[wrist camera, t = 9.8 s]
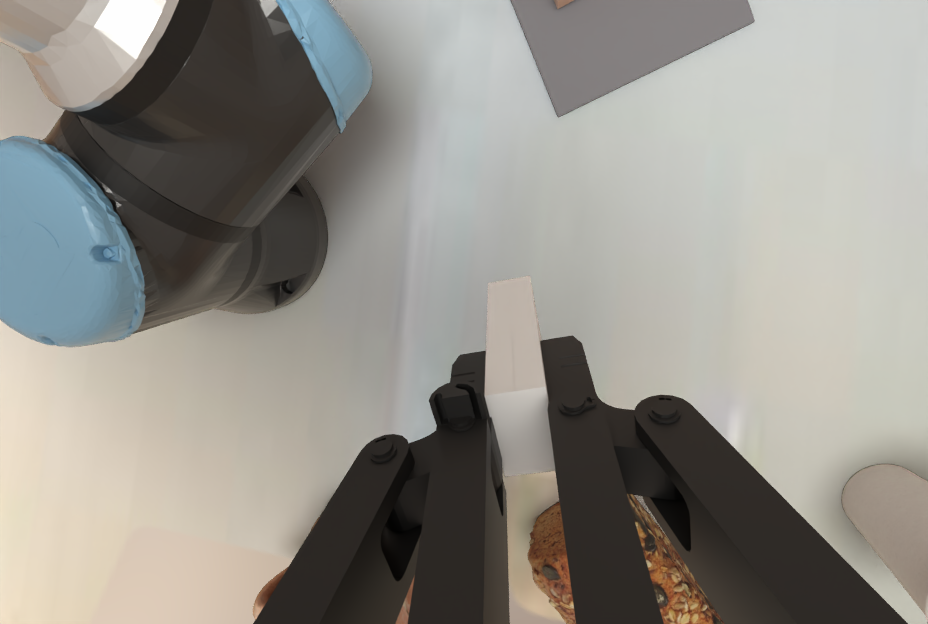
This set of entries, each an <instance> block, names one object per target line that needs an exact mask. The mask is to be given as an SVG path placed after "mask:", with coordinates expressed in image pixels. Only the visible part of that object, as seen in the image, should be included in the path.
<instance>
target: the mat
mask: <svg viewBox="0 0 928 624" xmlns="http://www.w3.org/2000/svg"><path fill="white" fill-rule="evenodd" d="M511 2H512V4H513V7H514V9H515V12H516V14H517V17H518V19H519V22H520V24H521V27H522V29H523V32H524V34H525V36H526V39H527V41H528V44H529V46H530V49H531V51H532V54H533V56H534V59H535V61H536V64H537V66H538V69H539V71H540V74H541V76H542V78H543V81H544V83H545V86H546V88H547V91H548V93H549V96H550V98H551V101H552V103H553V106H554V108H555V111H556V113H557V116H558V117H560V116H562V115H564V114H566V113H568V112H570V111H572V110H574V109H576V108H579V107H581V106H583V105H585V104H587V103H589V102H591V101H593V100H595V99H597V98H599V97H601V96H603V95H605V94H607V93H609V92H611V91H614V90H616V89H618V88H620V87H622V86H624V85H626V84H628V83H630V82H632V81H634V80H636V79H638V78H640V77H642V76H644V75H646V74H648V73H651V72H653V71H655V70H657V69H659V68H661V67H663V66H665V65H667V64H669V63H671V62H673V61H675V60H677V59H679V58H681V57H683V56H685V55H688V54H690V53H692V52H694V51H696V50H698V49H700V48H702V47H704V46H706V45H708V44H710V43H712V42H714V41H716V40H718V39H720V38H722V37H725V36H727V35H729V34H731V33H733V32H735V31H737V30H739V29H741V28H743V27H745V26H747V25H749V24H751V23H753V22H754V21H755V20H754V17H753V15H752V12H751V9H750V6H749V3H748V0H574V1H572V2H570V3H568V4H566V5H565V6H563V7H561V8H559V9H557V7H556V4H555V2H554V0H511Z"/></svg>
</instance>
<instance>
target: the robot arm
mask: <svg viewBox="0 0 928 624" xmlns="http://www.w3.org/2000/svg"><path fill="white" fill-rule="evenodd" d="M0 42H2V43H4V44H6V45H8V46H10V47H12V48H14V49H17V50H18V51H19V52H20V53H21V54H22V55H23V56H24V58H25V60H26V62H27V64H28V65H29V67H30V69H31V71H32V73H33V75H34V76H35V78H36V80H37V82H38V84H39V86H40V88H41V89H42V91H43V93H44V95H45V96H46V97H47V98H48V99H49V100H50V101H51V102H53V103H54V104H55V105H57V106H59V107H61V108H63V109H65V111H64V113H63V114H62V116H61V117H60V118H59V120H58V121H57V123H56V124H55V126H54V127H53V129H52V130H51V132H50V133H49V135H48V136H47V137H46V138H45V139H43V140H39V139H35V138H29V137H25V136H12V137H10V138H7V139H5V140H2V141H0V320H1V321H2V322H4V323H5V324H6V325H8V326H9V327H10V328H12V329H14V330H15V331H17V332H18V333H20V334H22V335H24V336H26V337H28V338H30V339H32V340H35V341H37V342H40V343H43V344H47V345H57V346H65V347H81V346H86V345H92V344H98V343H103V342H115V341H118V340H122V339H125V338H126V337H130V336H131V334H134V333H137V332H140V331H144V330H147V329H150V328H153V327H156V326H160V325H163V324H166V323H169V322H172V321H176V320H179V319H182V318H185V317H188V316H191V315H195V314H198V313H201V312H204V311H207V310H210V309H219V310H224V311H229V312H234V313H241V314H256V313H264V312H268V311H271V310H274V309H277V308H280V307H283V306H285V305H287V304H290V303H291V302H293V301H295V300H296V299H298V298H299V297H301V296H302V295H303V294H304V293H305V292H306V291H307V290H308V289H309V288H310V287H311V286H312V284H313V283H314V282H315V280H316V279H317V277H318V275H319V273H320V271H321V269H322V266H323V263H324V260H325V256H326V251H327V241H328V238H327V225H326V219H325V215H324V211H323V208H322V206H321V203H320V201H319V199H318V197H317V195H316V193H315V191H314V190H313V188H312V187H311V185H310V184H309V182H308V181H307V180H306V179H305V178H304V177H303V176H302V175H303V174H304V172H305V171H306V170H307V169H308V168H309V167H310V166H311V164H312V163H313V162H314V161H315V160H316V159H317V157H318V156H319V155H320V154H321V153H322V152H323V151H324V149H325V148H326V147H327V146H328V145H329V144H330V142H331V141H332V140H333V139H334V138H335V137H336V136H337V134H338V133H340V134H341V133H342V132H343V131H344V128H346V121H347V120H348V119H349V117H350V116H351V115H352V113H353V112H354V111H355V110H356V108H357V107H358V106H359V104H360V103H361V102H362V100H363V99H364V98H365V97H366V95H367V94H368V92H369V89H370V87H371V84H372V65H371V62H370V59H369V57H368V55H367V53H366V52H365V50H364V48H363V47H362V46H361V44H360V43H359V41H358V40H357V38H356V37H355V36H354V34H353V33H352V31H351V30H350V29H349V27H348V26H347V25H346V23H345V22H344V21H343V19H342V18H341V17H340V15H339V14H338V13H337V12H336V10H335V9H334V8H333V6H332V5H331V4H330V3H329V1H328V0H0ZM429 402H430V406H431V409H432V412H433V415H434V418H435V421H436V425H437V428H436V431H435V432H433V433H432V434H431V435H429V436H427V437H425V438H423V439H420V440H417V441H415V442H412V443H409V444H408V441H407V439H405V438H404V437H403V436H400V435H395V434H391V435H384V436H381V437H378V438H376V439H374V440H373V441H371V442H370V443H368V444H367V445H366V446H365V447H364V448H363V449H362V450H361V452H360V453H359V455H358V456H357V458H356V460H355V461H354V463H353V464H352V466H351V468H350V469H349V471H348V472H347V474H346V476H345V477H344V479H343V480H342V482H341V484H340V485H339V487H338V489H337V490H336V492H335V493H334V495H333V497H332V498H331V500H330V501H329V503H328V505H327V506H326V508H325V509H324V511H323V513H322V514H321V516H320V517H319V519H318V521H317V522H316V524H315V525H314V527H313V529H312V530H311V532H310V533H309V535H308V537H307V538H306V540H305V541H304V543H303V545H302V546H301V548H300V549H299V551H298V553H297V554H296V556H295V558H294V559H293V561H292V562H291V564H290V566H289V567H288V569H287V570H286V572H285V574H284V575H283V577H282V578H281V580H280V582H279V583H278V585H277V586H276V588H275V590H274V591H273V593H272V594H271V596H270V598H269V599H268V601H267V602H266V604H265V606H264V607H263V609H262V610H261V612H260V614H259V615H258V617H257V619H256V620H255V622H254V623H253V624H396V621H397V619H398V616H399V613H400V611H401V608H402V606H403V603H404V601H405V598H406V596H407V593H408V591H409V588H410V586H411V583H412V581H413V578H414V583H413V590H412V597H411V604H410V610H409V617H408V624H510V623H509V583H508V545H507V507H506V490H505V486H504V482H503V476H502V467H503V471H504V475H505V477H508V476H516V475H524V474H532V473H540V472H548V471H556V478H557V485H558V493H559V500H560V508H561V515H562V523H563V530H564V538H565V545H566V553H567V560H568V567H569V575H570V582H571V590H572V597H573V605H574V612H575V620H576V624H664V622H663V619H662V615H661V612H660V608H659V605H658V601H657V598H656V594H655V591H654V587H653V583H652V580H651V576H650V573H649V569H648V566H647V562H646V559H645V555H644V552H643V548H642V545H641V541H640V538H639V534H638V531H637V527H636V524H635V520H634V517H633V513H632V510H631V506H630V503H629V499H628V495H627V494H633V495H639V496H643V499H644V502H645V503H646V505H647V507H648V508H649V510H650V511H651V513H652V514H653V516H654V517H655V519H656V520H657V522H658V523H659V525H660V526H661V528H662V529H663V531H664V532H665V534H666V535H667V537H668V539H669V540H670V542H671V543H672V545H673V546H674V548H675V549H676V551H677V552H678V554H679V555H680V557H681V558H682V560H683V561H684V563H685V564H686V566H687V567H688V569H689V571H690V572H691V574H692V575H693V577H694V578H695V580H696V581H697V583H698V584H699V586H700V587H701V589H702V590H703V592H704V593H705V595H706V596H707V598H708V599H709V601H710V603H711V604H712V606H713V607H714V609H715V610H716V612H717V613H718V615H719V616H720V618H721V619H722V621H723V622H724V624H908V623H907V622H906V621H905V620H904V619H903V618H902V617H901V616H900V615H899V614H898V613H897V612H896V611H895V610H894V609H893V608H892V607H891V606H890V605H889V604H888V603H887V602H886V601H885V600H884V599H883V598H882V597H881V596H880V595H879V594H878V593H877V592H876V591H875V590H874V589H873V588H872V587H871V586H870V585H869V584H868V583H867V582H866V581H865V580H864V579H863V578H862V577H861V576H860V575H859V574H858V573H857V572H856V571H855V570H854V569H853V568H852V567H851V566H850V565H849V564H848V563H847V562H846V561H845V560H844V559H843V558H842V557H841V556H840V555H839V554H838V553H837V552H836V551H835V550H834V549H833V548H832V547H831V546H830V544H829V543H828V542H827V541H826V540H825V539H824V538H823V537H822V536H821V535H820V534H819V533H818V532H817V531H816V530H815V529H814V528H813V527H812V526H811V525H810V524H809V523H808V522H807V521H806V520H805V519H804V518H803V517H802V516H801V515H800V514H799V513H798V512H797V511H796V510H795V509H794V508H793V507H792V506H791V505H790V504H789V503H788V502H787V501H786V500H785V499H784V498H783V497H782V496H781V495H780V494H779V493H778V492H777V491H776V490H775V489H774V488H773V487H772V486H771V485H770V484H769V483H768V482H767V481H766V480H765V479H764V478H763V477H762V476H761V475H760V474H759V473H758V472H757V471H756V470H755V469H754V468H753V467H752V466H751V465H750V464H749V463H748V462H747V461H746V460H745V459H744V458H743V457H742V456H741V454H740V453H739V452H738V451H737V450H736V449H735V448H734V447H733V446H732V445H731V444H730V443H729V442H728V441H727V440H726V439H725V438H724V437H723V436H722V435H721V434H720V433H719V432H718V431H717V430H716V429H715V428H714V427H713V426H712V425H711V424H710V423H709V422H708V421H707V420H706V419H705V418H704V417H703V416H702V415H701V414H700V413H699V412H698V411H697V410H696V409H695V408H694V407H693V406H692V405H691V404H690V403H688V402H687V401H685V400H684V399H681V398H678V397H675V396H670V395H657V396H651V397H648V398H646V399H644V400H642V401H641V402H640V403H639V404H638V405H637V406H636V408H635V410H626V409H619V408H615V407H612V406H609V405H607V404H605V403H604V402H602V401H601V400H600V399H599V398H598V396H597V394H596V392H595V388H594V385H593V381H592V378H591V374H590V371H589V367H588V364H587V360H586V356H585V353H584V349H583V346H582V343H581V342H580V341H578V340H577V339H576V338H575V337H574V336H567V337H561V338H554V339H548V340H541V334H540V329H539V323H538V318H537V312H536V307H535V301H534V296H533V290H532V285H531V279H530V276H524V277H519V278H513V279H508V280H502V281H497V282H491V283H488V301H487V332H486V351H481V352H475V353H469V354H463V355H460V356H459V357H458V358H457V360H456V361H455V362H454V364H453V365H452V372H451V379H450V383H447V384H445V385H443V386H441V387H439V388H438V389H437V390H436V391H435V392H434V393H432V395H431V397H430V399H429ZM414 575H415V577H414Z"/></svg>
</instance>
